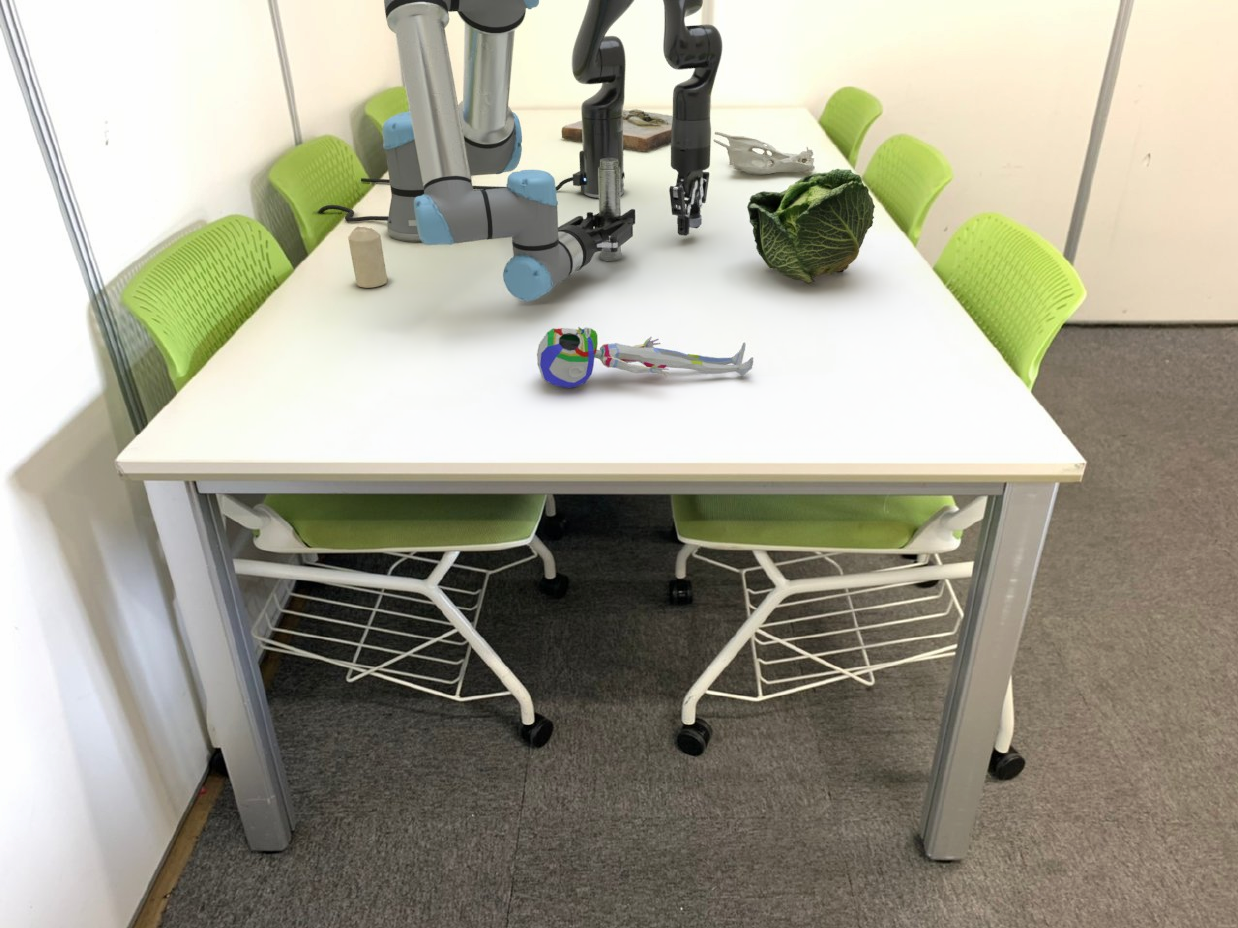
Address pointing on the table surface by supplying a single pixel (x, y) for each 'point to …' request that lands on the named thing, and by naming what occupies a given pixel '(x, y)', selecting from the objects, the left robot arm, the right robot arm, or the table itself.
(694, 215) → the lid
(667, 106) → the table surface
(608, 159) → the grey long cylinder
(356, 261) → the candle
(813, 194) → the vegetable
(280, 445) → the table surface
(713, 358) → the toy
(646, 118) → the plaque
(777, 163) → the anatomical model
